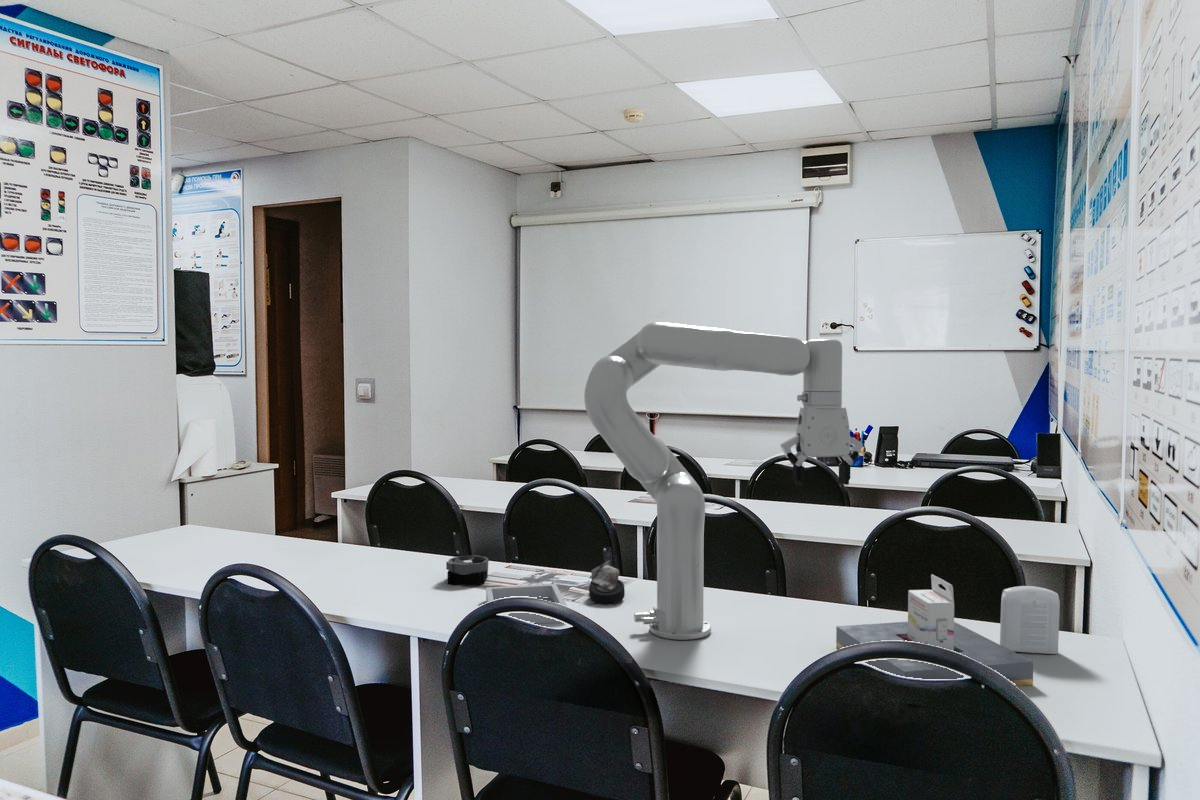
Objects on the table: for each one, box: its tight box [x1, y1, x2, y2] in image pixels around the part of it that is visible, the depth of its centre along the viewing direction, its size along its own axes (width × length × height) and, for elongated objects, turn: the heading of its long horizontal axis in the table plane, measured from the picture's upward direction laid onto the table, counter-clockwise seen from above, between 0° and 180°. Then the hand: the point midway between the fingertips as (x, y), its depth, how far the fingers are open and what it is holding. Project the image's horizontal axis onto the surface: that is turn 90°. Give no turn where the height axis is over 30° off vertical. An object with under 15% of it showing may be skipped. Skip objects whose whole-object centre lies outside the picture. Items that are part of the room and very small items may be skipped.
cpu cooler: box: [445, 554, 489, 586], centre depth 209 cm, size 10×6×10 cm
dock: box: [835, 621, 1034, 687], centre depth 149 cm, size 24×24×4 cm
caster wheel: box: [588, 559, 626, 606], centre depth 193 cm, size 7×11×10 cm
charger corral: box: [485, 583, 568, 624], centre depth 183 cm, size 16×19×3 cm
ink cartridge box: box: [907, 573, 955, 651], centre depth 149 cm, size 9×5×15 cm, turn 5°
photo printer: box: [999, 585, 1061, 655], centre depth 156 cm, size 10×4×12 cm, turn 81°
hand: (821, 484), depth 167 cm, fingers open, 9 cm apart
